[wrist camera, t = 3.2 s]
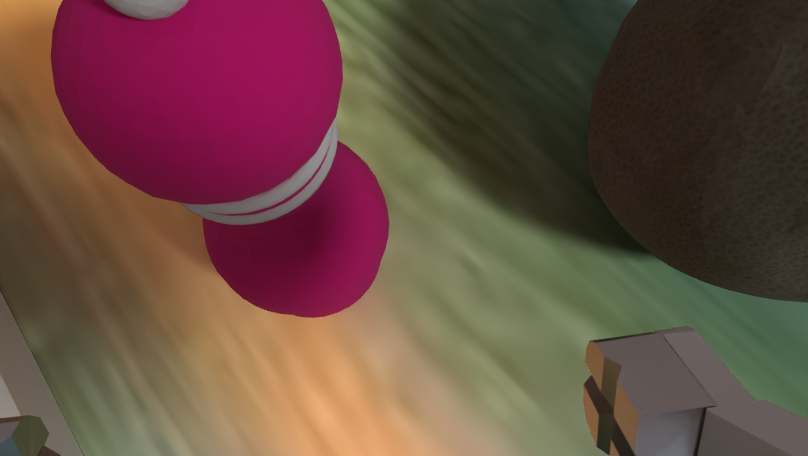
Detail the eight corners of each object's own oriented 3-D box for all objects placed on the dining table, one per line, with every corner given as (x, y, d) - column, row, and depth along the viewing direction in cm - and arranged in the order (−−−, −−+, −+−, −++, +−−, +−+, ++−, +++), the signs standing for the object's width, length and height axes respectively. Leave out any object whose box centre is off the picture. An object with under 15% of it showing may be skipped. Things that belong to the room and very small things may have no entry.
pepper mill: (390, 330, 27) (339, 139, 8) (231, 328, 28) (-179, 134, 8) (393, 180, 30) (359, -246, 10) (245, 179, 30) (-56, -245, 11)
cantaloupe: (646, 385, 27) (919, 353, 12) (505, 117, 30) (589, -146, 16) (915, 263, 28) (1443, 105, 14) (749, 21, 32) (1024, -298, 18)
